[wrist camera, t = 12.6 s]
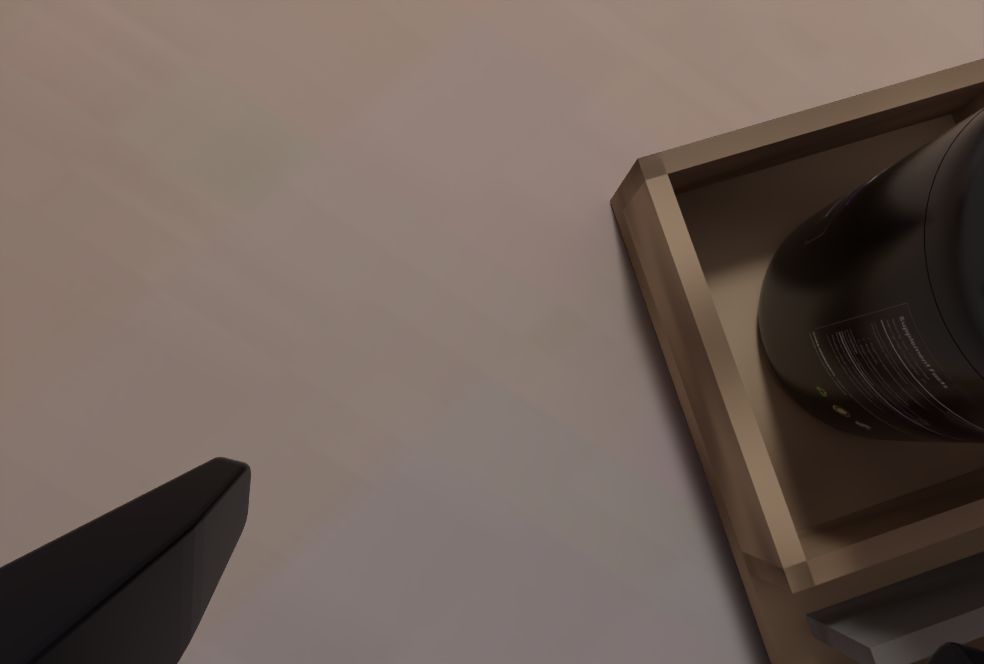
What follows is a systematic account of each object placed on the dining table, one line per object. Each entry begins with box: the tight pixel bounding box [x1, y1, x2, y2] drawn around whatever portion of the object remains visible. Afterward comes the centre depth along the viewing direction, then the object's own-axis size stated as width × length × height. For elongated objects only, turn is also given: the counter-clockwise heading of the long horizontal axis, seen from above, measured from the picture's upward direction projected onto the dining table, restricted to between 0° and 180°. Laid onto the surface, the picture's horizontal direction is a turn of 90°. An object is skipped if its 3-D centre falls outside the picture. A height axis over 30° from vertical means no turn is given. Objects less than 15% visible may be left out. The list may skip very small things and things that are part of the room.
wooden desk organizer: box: [610, 59, 984, 664], centre depth 19 cm, size 20×11×4 cm, turn 18°
